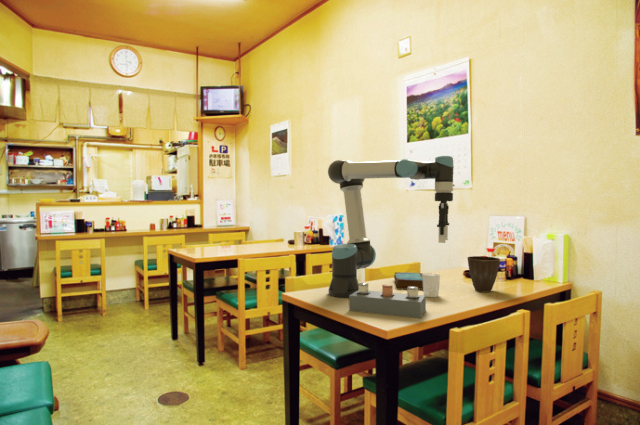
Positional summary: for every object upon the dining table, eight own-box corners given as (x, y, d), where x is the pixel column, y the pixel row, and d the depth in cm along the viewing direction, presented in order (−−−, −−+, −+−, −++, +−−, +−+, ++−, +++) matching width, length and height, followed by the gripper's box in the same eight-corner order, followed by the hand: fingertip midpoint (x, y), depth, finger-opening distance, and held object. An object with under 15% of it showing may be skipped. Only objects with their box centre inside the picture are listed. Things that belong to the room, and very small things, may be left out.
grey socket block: (349, 310, 160) (349, 295, 160) (358, 303, 171) (358, 289, 171) (420, 318, 149) (420, 302, 149) (425, 310, 160) (425, 295, 160)
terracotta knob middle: (381, 299, 159) (381, 286, 159) (383, 297, 163) (383, 284, 163) (391, 300, 157) (391, 286, 157) (393, 298, 161) (393, 285, 161)
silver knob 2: (406, 302, 155) (406, 288, 155) (408, 300, 159) (408, 286, 158) (416, 303, 153) (417, 288, 153) (418, 301, 157) (418, 287, 157)
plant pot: (504, 290, 198) (504, 257, 198) (493, 295, 187) (493, 261, 187) (474, 286, 208) (474, 255, 208) (462, 290, 197) (462, 258, 197)
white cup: (440, 298, 182) (440, 276, 182) (422, 297, 183) (422, 275, 183) (439, 294, 189) (439, 273, 189) (421, 293, 191) (421, 272, 191)
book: (432, 290, 200) (432, 280, 200) (396, 289, 202) (396, 279, 202) (426, 281, 223) (426, 272, 223) (394, 281, 225) (394, 272, 225)
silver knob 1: (357, 297, 163) (357, 284, 163) (360, 295, 167) (360, 282, 167) (366, 298, 161) (366, 284, 161) (369, 296, 165) (369, 283, 165)
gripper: (451, 191, 160) (450, 244, 160) (454, 192, 183) (453, 239, 184) (431, 191, 163) (431, 243, 163) (437, 193, 186) (436, 238, 186)
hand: (443, 241), depth 173 cm, fingers open, 13 cm apart
